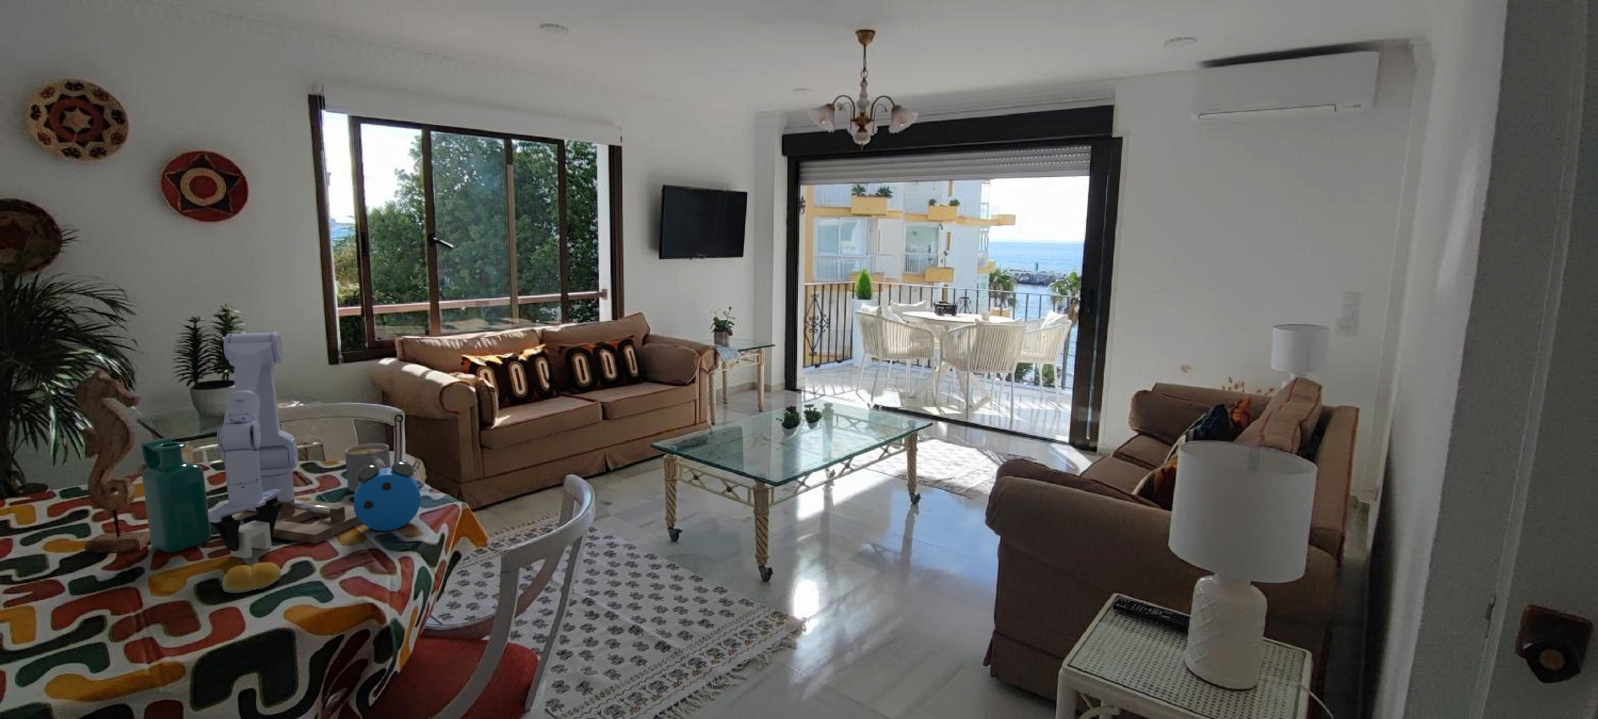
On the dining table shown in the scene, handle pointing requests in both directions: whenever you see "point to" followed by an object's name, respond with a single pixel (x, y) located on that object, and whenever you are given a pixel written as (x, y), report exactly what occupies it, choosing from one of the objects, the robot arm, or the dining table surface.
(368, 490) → the alarm clock
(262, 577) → the bread roll
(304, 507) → the hook bar
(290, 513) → the shelf
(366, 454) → the coffee mug
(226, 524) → the robot arm
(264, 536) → the grey u-slotted block
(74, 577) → the dining table surface
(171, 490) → the teal bottle
